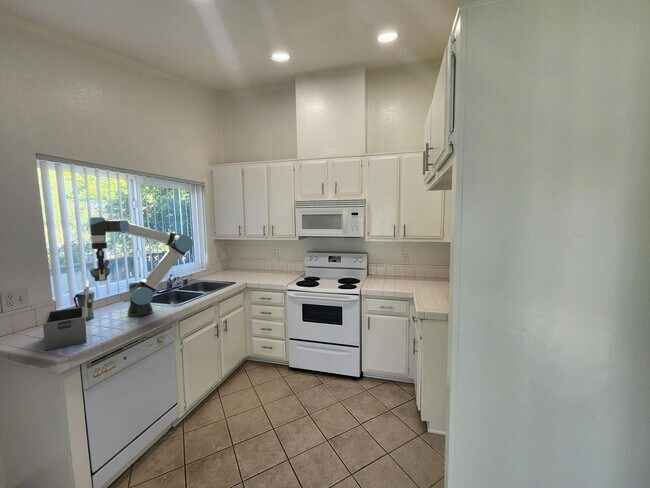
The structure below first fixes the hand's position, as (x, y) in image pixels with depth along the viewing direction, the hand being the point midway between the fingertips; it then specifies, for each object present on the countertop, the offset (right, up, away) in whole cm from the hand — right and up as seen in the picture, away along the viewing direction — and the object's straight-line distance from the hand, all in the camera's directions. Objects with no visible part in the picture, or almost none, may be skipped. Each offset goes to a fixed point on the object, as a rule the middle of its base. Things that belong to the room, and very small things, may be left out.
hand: (101, 278), depth 183 cm
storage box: (-4, -32, -20) cm, 38 cm away
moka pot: (-22, -29, +15) cm, 39 cm away
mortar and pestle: (0, -1, 0) cm, 1 cm away
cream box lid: (+4, -9, -18) cm, 20 cm away
